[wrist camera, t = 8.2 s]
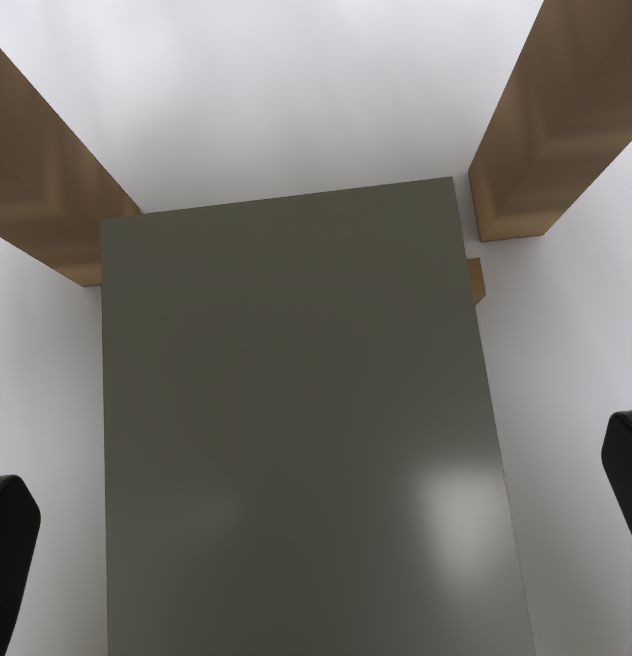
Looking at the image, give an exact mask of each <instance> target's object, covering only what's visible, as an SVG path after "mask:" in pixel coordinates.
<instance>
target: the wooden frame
mask: <svg viewBox="0 0 632 656" xmlns="http://www.w3.org/2000/svg"><path fill="white" fill-rule="evenodd" d="M631 141H632V0H544V1H543V4H542V6H541V8H540V10H539V13H538V15H537V17H536V19H535V22H534V24H533V26H532V28H531V31H530V33H529V35H528V37H527V40H526V42H525V44H524V46H523V49H522V51H521V53H520V55H519V58H518V60H517V62H516V64H515V67H514V69H513V71H512V73H511V76H510V78H509V80H508V82H507V85H506V87H505V89H504V91H503V94H502V96H501V98H500V100H499V103H498V105H497V107H496V109H495V112H494V114H493V116H492V118H491V121H490V123H489V125H488V127H487V130H486V132H485V134H484V136H483V139H482V141H481V143H480V145H479V148H478V150H477V152H476V154H475V157H474V159H473V161H472V163H471V166H470V168H469V170H468V173H469V179H470V184H471V190H472V196H473V201H474V207H475V213H476V218H477V224H478V230H479V236H480V241H481V242H484V241H493V240H501V239H510V238H519V237H528V236H537V235H544V234H545V233H546V232H547V231H548V229H549V228H550V227H551V226H552V225H553V224H554V223H555V222H556V221H557V220H558V219H559V218H560V217H561V216H562V215H563V213H564V212H565V211H566V210H567V209H568V208H569V207H570V206H571V205H572V204H573V203H574V202H575V201H576V200H577V199H578V197H579V196H580V195H581V194H582V193H583V192H584V191H585V190H586V189H587V188H588V187H589V186H590V185H591V184H592V183H593V181H594V180H595V179H596V178H597V177H598V176H599V175H600V174H601V173H602V172H603V171H604V170H605V169H606V168H607V167H608V165H609V164H610V163H611V162H612V161H613V160H614V159H615V158H616V157H617V156H618V155H619V154H620V153H621V152H622V151H623V149H624V148H625V147H626V146H627V145H628V144H629V143H630V142H631ZM132 215H140V208H139V207H138V206H137V205H136V204H135V203H134V201H133V200H132V199H131V198H130V197H129V196H128V195H127V193H126V192H125V191H124V190H123V189H122V188H121V187H120V185H119V184H118V183H117V182H116V181H115V180H114V178H113V177H112V176H111V175H110V174H109V173H108V172H107V170H106V169H105V168H104V167H103V166H102V165H101V164H100V162H99V161H98V160H97V159H96V158H95V157H94V155H93V154H92V153H91V152H90V151H89V150H88V149H87V147H86V146H85V145H84V144H83V143H82V142H81V141H80V139H79V138H78V137H77V136H76V135H75V134H74V133H73V131H72V130H71V129H70V128H69V127H68V126H67V124H66V123H65V122H64V121H63V120H62V119H61V118H60V116H59V115H58V114H57V113H56V112H55V111H54V110H53V108H52V107H51V106H50V105H49V104H48V103H47V101H46V100H45V99H44V98H43V97H42V96H41V95H40V93H39V92H38V91H37V90H36V89H35V88H34V87H33V85H32V84H31V83H30V82H29V81H28V80H27V79H26V77H25V76H24V75H23V74H22V73H21V72H20V70H19V69H18V68H17V67H16V66H15V65H14V64H13V62H12V61H11V60H10V59H9V58H8V57H7V56H6V54H5V53H4V52H3V51H2V50H1V49H0V237H1V238H2V239H4V240H6V241H7V242H9V243H11V244H12V245H14V246H16V247H17V248H19V249H21V250H22V251H24V252H26V253H27V254H29V255H31V256H32V257H34V258H35V259H37V260H39V261H40V262H42V263H44V264H45V265H47V266H49V267H50V268H52V269H54V270H55V271H57V272H59V273H60V274H62V275H64V276H65V277H67V278H69V279H70V280H72V281H74V282H75V283H77V284H79V285H80V286H82V287H84V286H93V285H101V239H100V219H107V218H115V217H124V216H132ZM467 265H468V270H469V276H470V282H471V288H472V293H473V299H474V305H475V306H476V305H477V304H478V303H479V302H480V300H481V299H482V298H483V297H484V296H485V295H486V292H485V286H484V280H483V274H482V269H481V263H480V258H473V259H467Z"/></svg>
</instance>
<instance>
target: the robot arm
mask: <svg viewBox="0 0 632 656" xmlns="http://www.w3.org/2000/svg"><path fill="white" fill-rule="evenodd" d="M601 458H602V464H603V467H604V470H605V472H606V475H607V477H608V479H609V482H610V484H611V487H612V489H613V491H614V494H615V496H616V499H617V501H618V503H619V506H620V508H621V511H622V513H623V515H624V518H625V520H626V523H627V525H628V527H629V530H630V532H631V535H632V410H631V411H621V412H615V413H613V414H612V415H611V417H610V419H609V422H608V426H607V430H606V434H605V438H604V442H603V447H602V452H601ZM40 523H41V514H40V510H39V507H38V505H37V504H36V502H35V500H34V498H33V497H32V495H31V493H30V492H29V490H28V488H27V486H26V485H25V483H24V481H23V480H22V478H20V477H19V476H17V475H4V476H0V656H5V654H6V651H7V648H8V645H9V643H10V640H11V637H12V633H13V630H14V627H15V624H16V621H17V617H18V614H19V610H20V606H21V602H22V598H23V594H24V590H25V586H26V582H27V578H28V573H29V569H30V565H31V561H32V557H33V553H34V549H35V544H36V540H37V536H38V532H39V528H40Z"/></svg>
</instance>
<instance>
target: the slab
mask: <svg viewBox="0 0 632 656" xmlns="http://www.w3.org/2000/svg"><path fill="white" fill-rule="evenodd" d="M100 239H101V293H102V346H103V399H104V453H105V506H106V559H107V613H108V656H536V654H535V649H534V643H533V637H532V631H531V626H530V620H529V614H528V608H527V603H526V597H525V591H524V586H523V580H522V574H521V568H520V563H519V557H518V551H517V545H516V540H515V534H514V528H513V523H512V517H511V511H510V505H509V500H508V494H507V488H506V482H505V477H504V471H503V465H502V460H501V454H500V448H499V442H498V437H497V431H496V425H495V419H494V414H493V408H492V402H491V396H490V391H489V385H488V379H487V374H486V368H485V362H484V356H483V351H482V345H481V339H480V333H479V328H478V322H477V316H476V311H475V305H474V299H473V293H472V288H471V282H470V276H469V270H468V265H467V259H466V253H465V248H464V242H463V236H462V230H461V225H460V219H459V213H458V207H457V202H456V196H455V190H454V184H453V179H452V177H444V178H436V179H428V180H419V181H411V182H403V183H395V184H387V185H378V186H370V187H362V188H354V189H345V190H337V191H329V192H321V193H313V194H304V195H296V196H288V197H280V198H272V199H263V200H255V201H247V202H239V203H230V204H222V205H214V206H206V207H198V208H189V209H181V210H173V211H165V212H156V213H148V214H140V215H132V216H124V217H115V218H107V219H100Z"/></svg>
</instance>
